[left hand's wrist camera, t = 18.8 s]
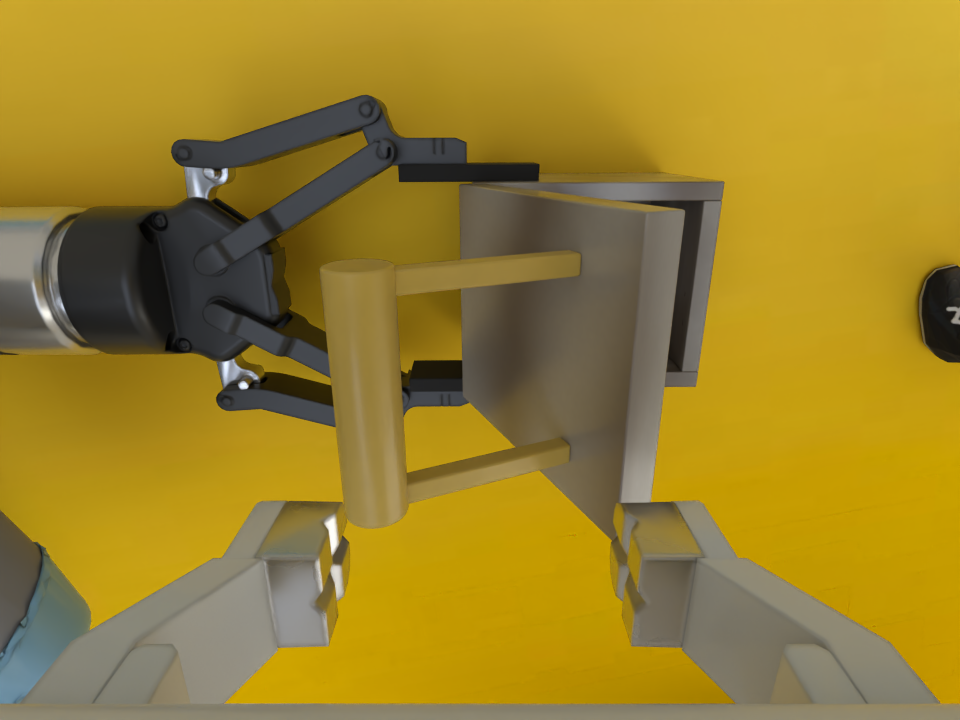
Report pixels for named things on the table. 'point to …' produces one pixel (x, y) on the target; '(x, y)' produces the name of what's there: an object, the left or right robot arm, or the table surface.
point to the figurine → (941, 313)
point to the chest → (696, 244)
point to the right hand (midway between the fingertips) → (532, 279)
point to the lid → (517, 350)
